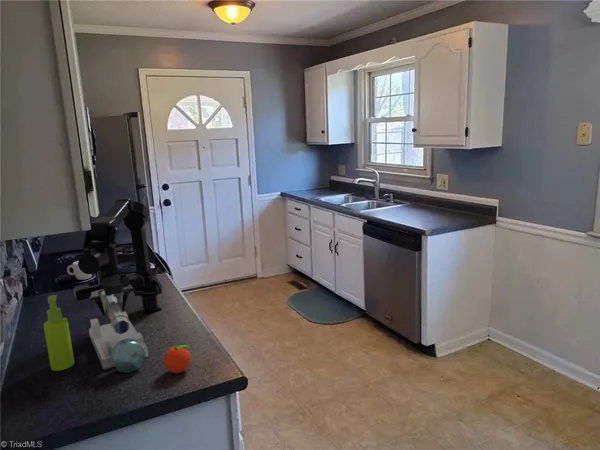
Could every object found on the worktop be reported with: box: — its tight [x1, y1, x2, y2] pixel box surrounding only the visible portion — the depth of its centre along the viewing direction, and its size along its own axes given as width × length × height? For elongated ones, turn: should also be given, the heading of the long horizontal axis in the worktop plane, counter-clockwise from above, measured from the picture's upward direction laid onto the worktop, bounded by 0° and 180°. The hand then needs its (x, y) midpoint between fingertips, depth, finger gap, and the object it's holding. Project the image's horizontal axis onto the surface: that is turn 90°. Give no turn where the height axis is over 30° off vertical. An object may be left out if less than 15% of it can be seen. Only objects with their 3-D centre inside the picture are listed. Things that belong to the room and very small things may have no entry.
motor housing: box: [88, 311, 149, 374], centre depth 128 cm, size 31×12×8 cm, turn 33°
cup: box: [66, 260, 93, 281], centre depth 200 cm, size 11×8×8 cm
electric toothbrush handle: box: [100, 291, 129, 334], centre depth 129 cm, size 5×7×25 cm
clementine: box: [163, 344, 193, 374], centre depth 115 cm, size 8×7×7 cm
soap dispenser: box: [43, 294, 75, 372], centre depth 120 cm, size 6×7×20 cm
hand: (113, 313), depth 129 cm, fingers closed on electric toothbrush handle, 5 cm apart
